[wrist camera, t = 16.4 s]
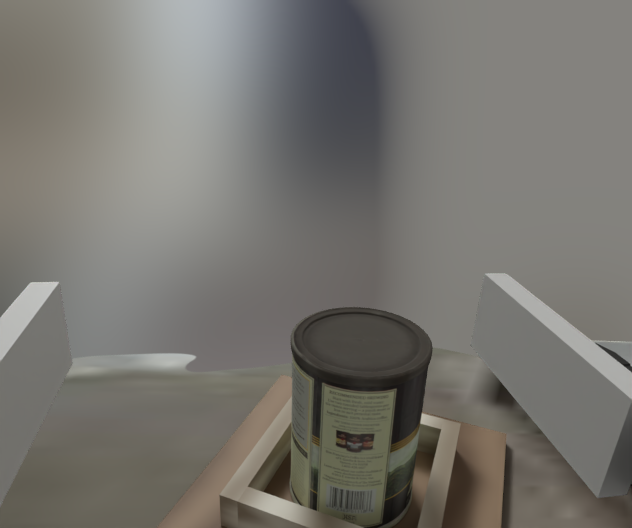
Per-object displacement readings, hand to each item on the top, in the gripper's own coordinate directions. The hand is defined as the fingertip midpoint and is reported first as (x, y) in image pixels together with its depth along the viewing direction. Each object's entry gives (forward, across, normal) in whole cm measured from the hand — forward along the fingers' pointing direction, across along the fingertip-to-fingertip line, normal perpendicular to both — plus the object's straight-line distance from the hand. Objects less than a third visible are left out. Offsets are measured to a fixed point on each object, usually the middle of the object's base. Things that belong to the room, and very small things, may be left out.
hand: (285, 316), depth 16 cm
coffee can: (+17, +8, -25) cm, 31 cm away
